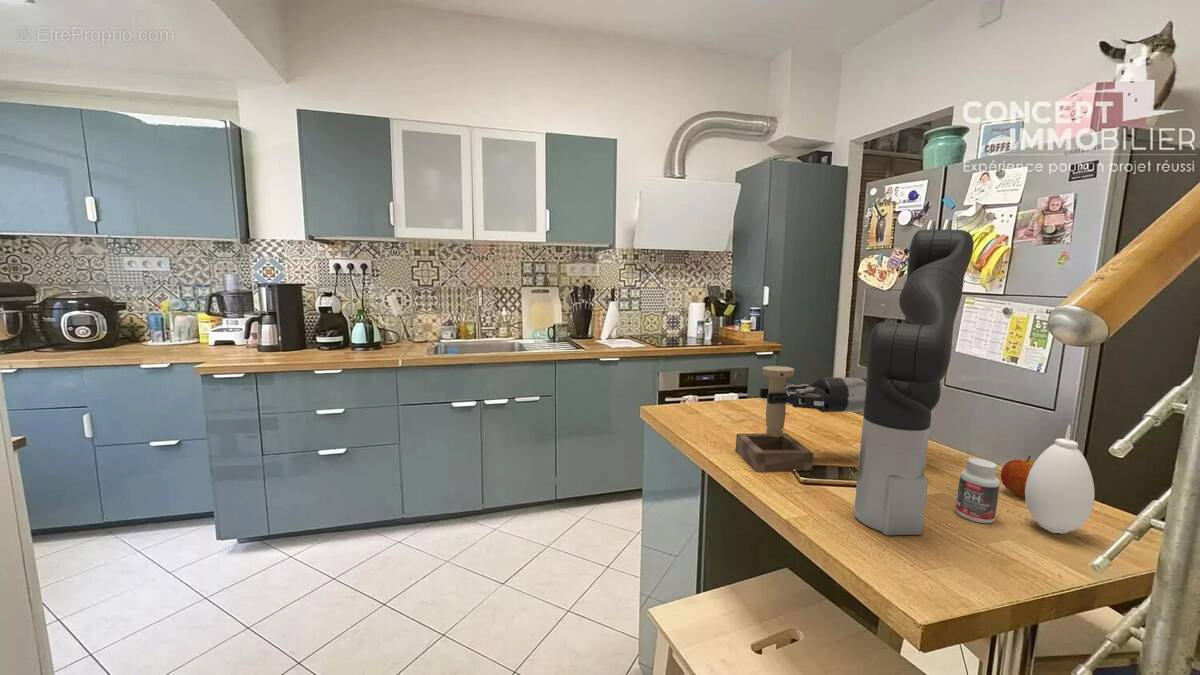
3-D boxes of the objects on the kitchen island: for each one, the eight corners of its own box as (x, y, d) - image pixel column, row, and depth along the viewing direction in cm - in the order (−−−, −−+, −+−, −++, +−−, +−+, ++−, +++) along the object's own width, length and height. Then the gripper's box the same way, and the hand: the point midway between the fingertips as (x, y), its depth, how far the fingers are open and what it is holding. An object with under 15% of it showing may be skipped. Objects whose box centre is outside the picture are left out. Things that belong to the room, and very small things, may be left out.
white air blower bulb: (1036, 538, 75) (1054, 429, 72) (1010, 515, 82) (1025, 415, 80) (1099, 548, 73) (1119, 435, 70) (1066, 523, 80) (1083, 420, 78)
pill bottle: (959, 519, 80) (967, 464, 79) (951, 505, 85) (958, 454, 84) (999, 527, 78) (1007, 471, 77) (988, 512, 83) (996, 459, 82)
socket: (811, 471, 99) (813, 452, 99) (756, 471, 98) (757, 453, 98) (785, 449, 111) (786, 433, 110) (735, 450, 110) (736, 433, 110)
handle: (793, 439, 102) (797, 371, 100) (763, 439, 102) (767, 370, 100) (784, 431, 106) (789, 366, 104) (756, 431, 107) (759, 366, 104)
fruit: (1018, 504, 87) (1025, 462, 85) (989, 487, 93) (994, 448, 92) (1058, 505, 86) (1064, 463, 85) (1025, 488, 93) (1031, 449, 92)
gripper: (824, 371, 110) (752, 371, 109) (861, 385, 96) (779, 387, 95) (821, 402, 111) (750, 403, 110) (858, 421, 97) (777, 423, 96)
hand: (764, 395), depth 103 cm, fingers closed on handle, 3 cm apart
